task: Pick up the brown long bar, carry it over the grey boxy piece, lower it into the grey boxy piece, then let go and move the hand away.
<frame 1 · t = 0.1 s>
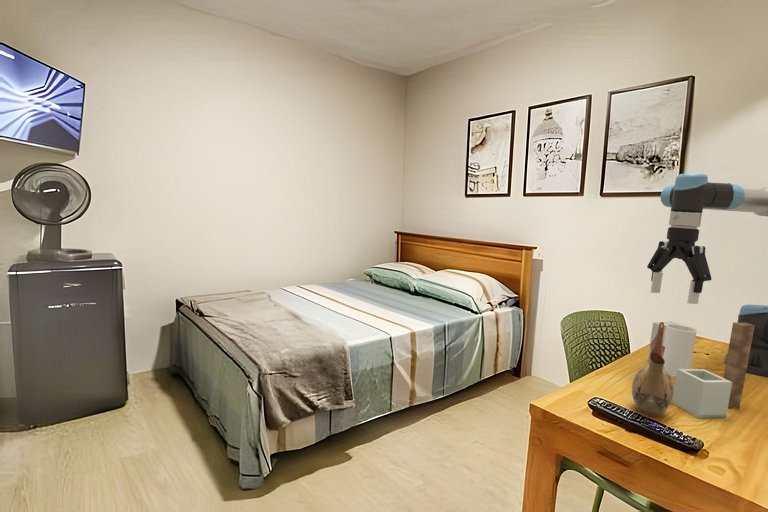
hand: (672, 297, 123), 28 cm above the table, fingers open, 13 cm apart
skincare box: (662, 364, 146), on the table
grey boxy piece: (698, 409, 113), on the table
brown long bar: (729, 405, 116), on the table
cup: (673, 373, 138), on the table
ceramic vessel: (648, 413, 109), on the table
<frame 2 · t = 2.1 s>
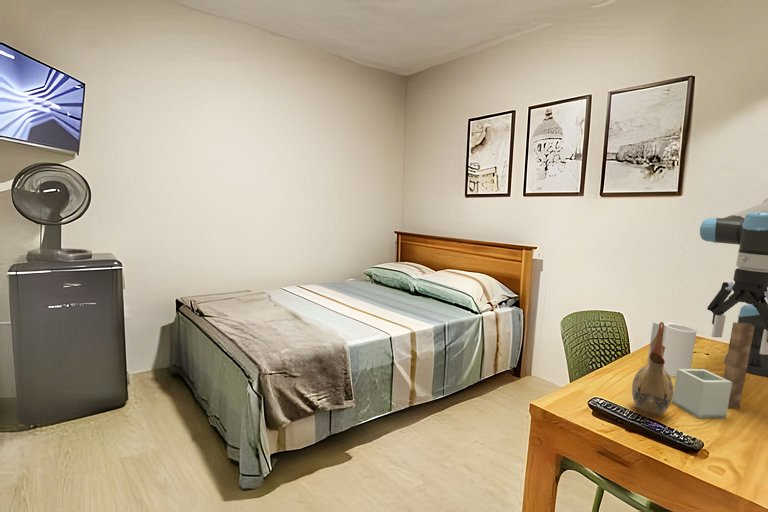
hand: (739, 345, 114), 18 cm above the table, fingers open, 13 cm apart
nothing on the table moved.
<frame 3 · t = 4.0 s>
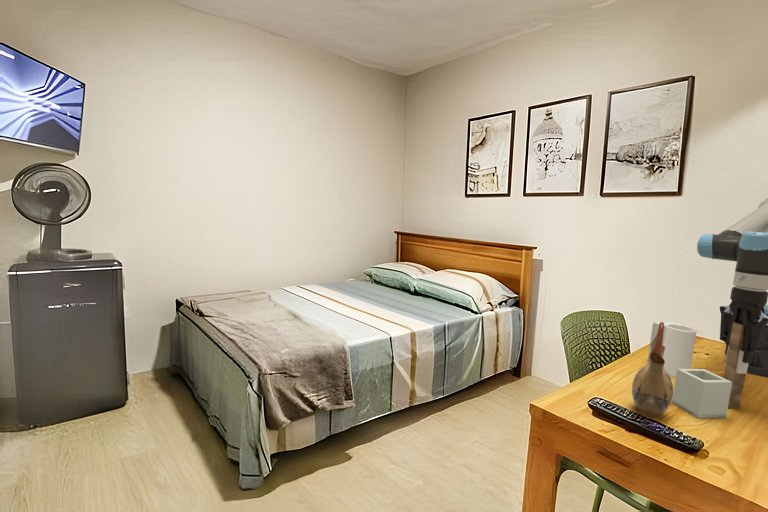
hand: (735, 370, 115), 11 cm above the table, fingers closed on brown long bar, 2 cm apart
brown long bar: (729, 405, 116), on the table, touching gripper
everything else where it was.
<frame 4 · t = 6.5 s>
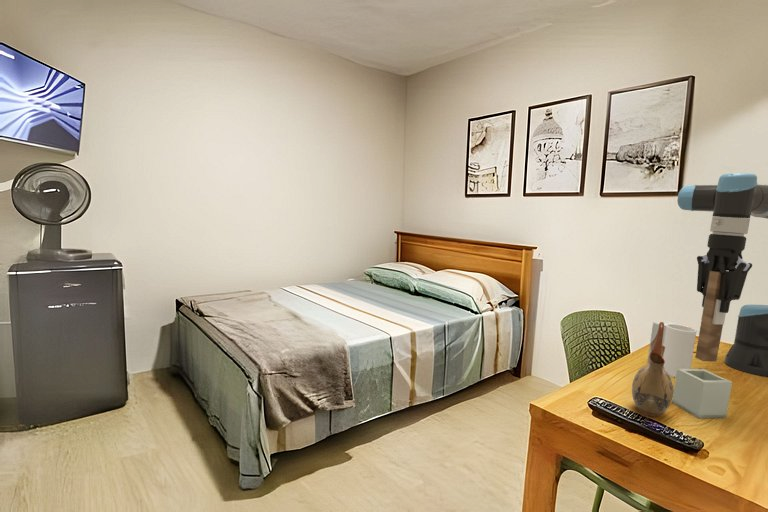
hand: (712, 321, 109), 25 cm above the table, fingers closed on brown long bar, 2 cm apart
brown long bar: (705, 359, 110), point 15 cm above the table, touching gripper
everything else where it was.
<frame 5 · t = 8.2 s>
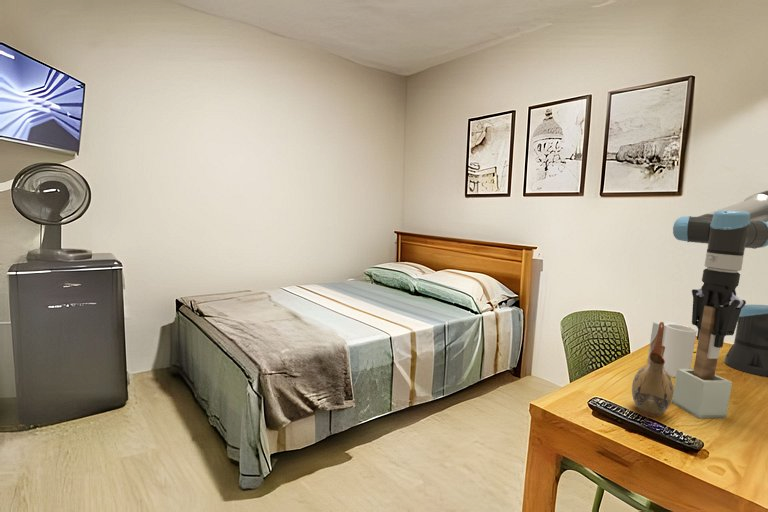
hand: (707, 355, 110), 16 cm above the table, fingers closed on brown long bar, 2 cm apart
brown long bar: (700, 392, 112), point 5 cm above the table, touching gripper
everything else where it was.
when the fingers open (13 cm above the table, at t = 9.4 s): brown long bar drops 2 cm, resting on grey boxy piece.
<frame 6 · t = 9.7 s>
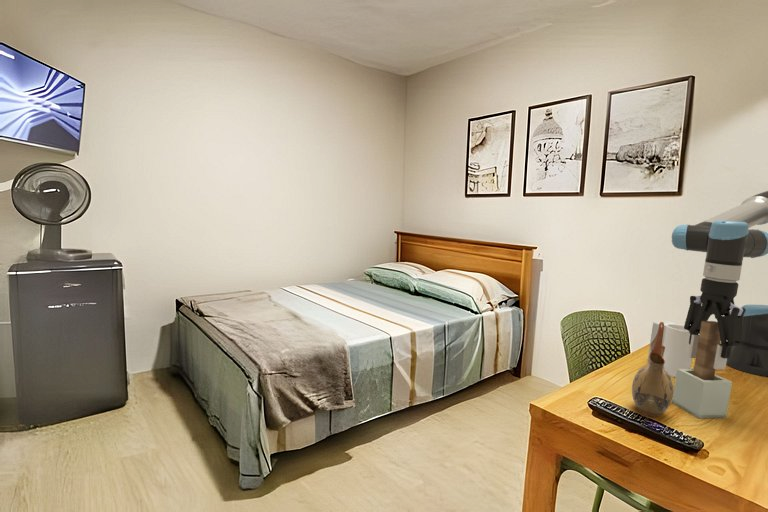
hand: (706, 362, 111), 14 cm above the table, fingers open, 7 cm apart
brown long bar: (698, 407, 113), point 1 cm above the table, touching grey boxy piece
everything else where it was.
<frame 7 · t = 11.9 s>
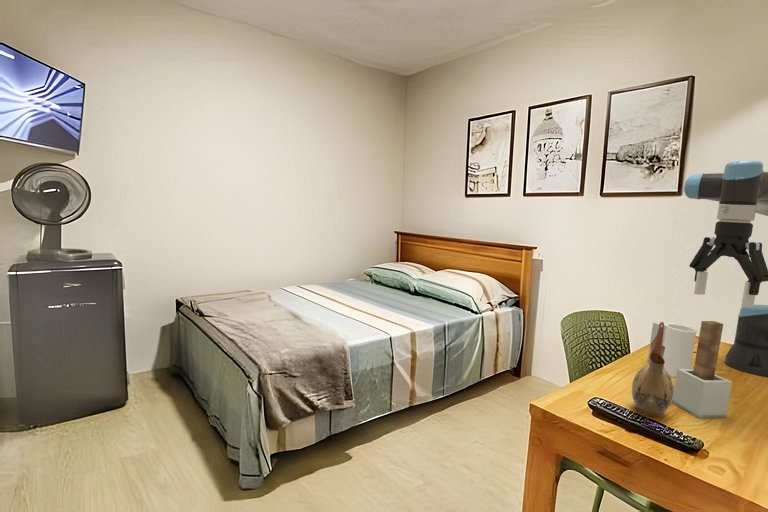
hand: (721, 300, 110), 31 cm above the table, fingers open, 13 cm apart
nothing on the table moved.
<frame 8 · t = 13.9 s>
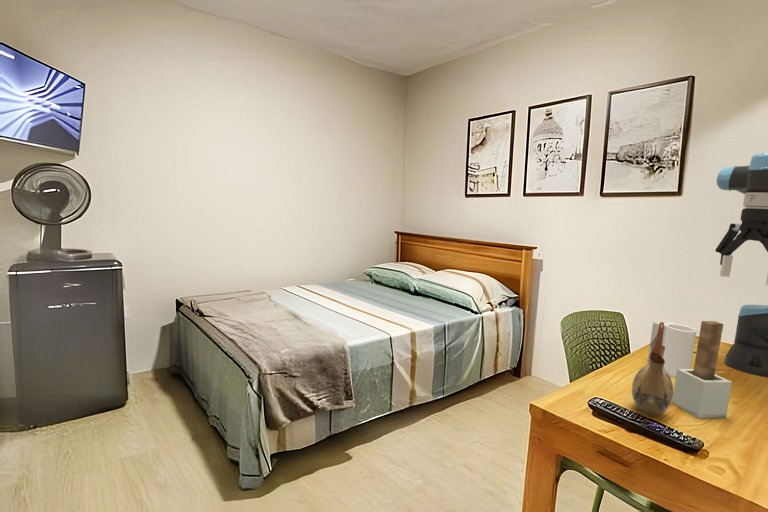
hand: (746, 280, 121), 35 cm above the table, fingers open, 13 cm apart
nothing on the table moved.
at the end: brown long bar 0.1 cm off-centre on the grey boxy piece, point 0.8 cm above the grey boxy piece's base; brown long bar tilted 0°; the gripper is holding nothing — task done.
